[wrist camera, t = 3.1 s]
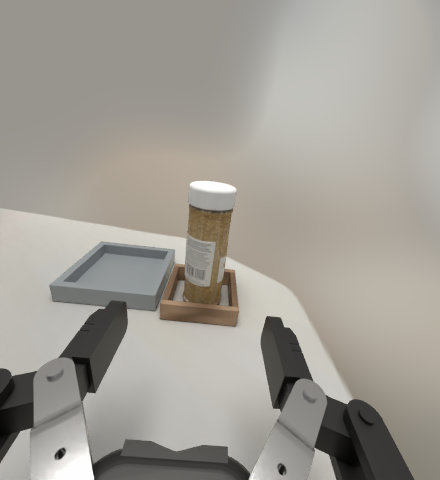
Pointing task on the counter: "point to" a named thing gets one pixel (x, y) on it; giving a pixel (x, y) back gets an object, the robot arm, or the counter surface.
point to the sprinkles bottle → (207, 240)
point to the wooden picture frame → (197, 310)
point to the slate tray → (116, 276)
